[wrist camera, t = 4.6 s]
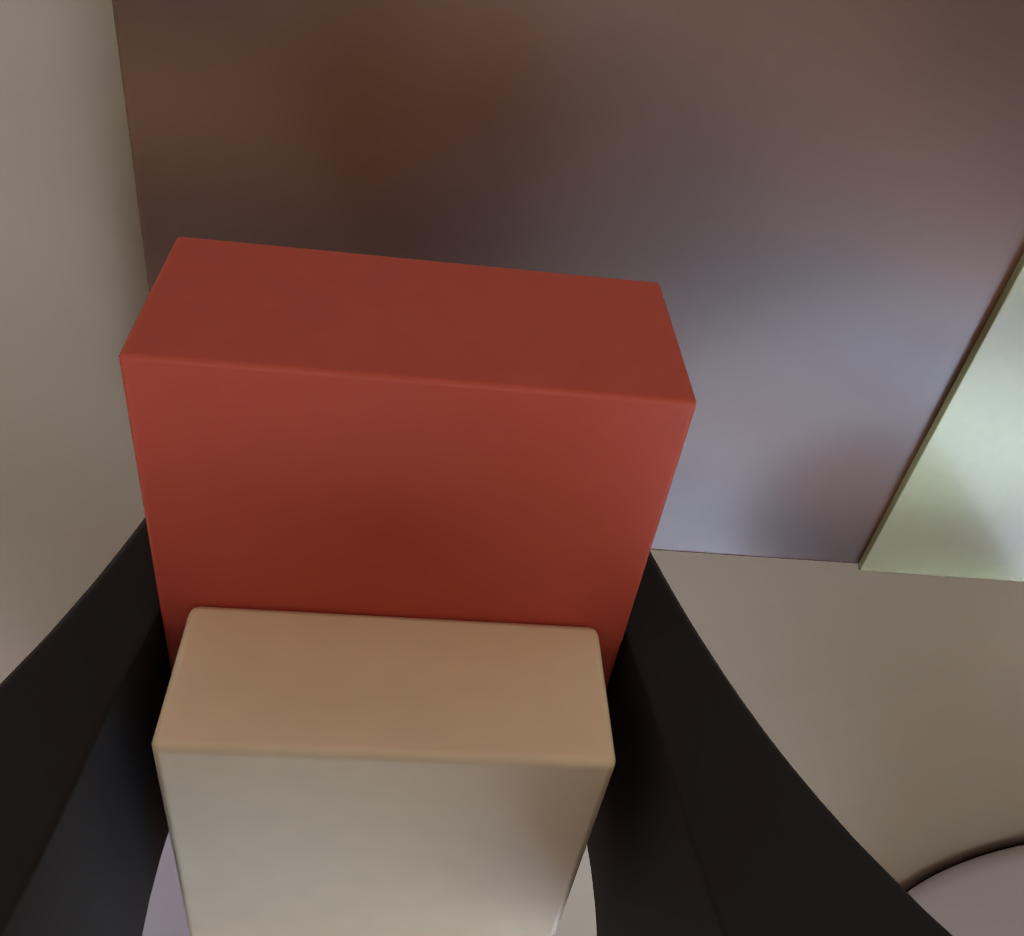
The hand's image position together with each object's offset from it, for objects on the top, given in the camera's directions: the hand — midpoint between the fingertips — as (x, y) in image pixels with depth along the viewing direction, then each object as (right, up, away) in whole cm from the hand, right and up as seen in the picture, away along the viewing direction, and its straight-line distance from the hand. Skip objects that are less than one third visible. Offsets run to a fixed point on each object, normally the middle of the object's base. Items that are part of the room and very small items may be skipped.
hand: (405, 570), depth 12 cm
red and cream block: (0, +1, +1) cm, 1 cm away
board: (+6, +5, +7) cm, 10 cm away
